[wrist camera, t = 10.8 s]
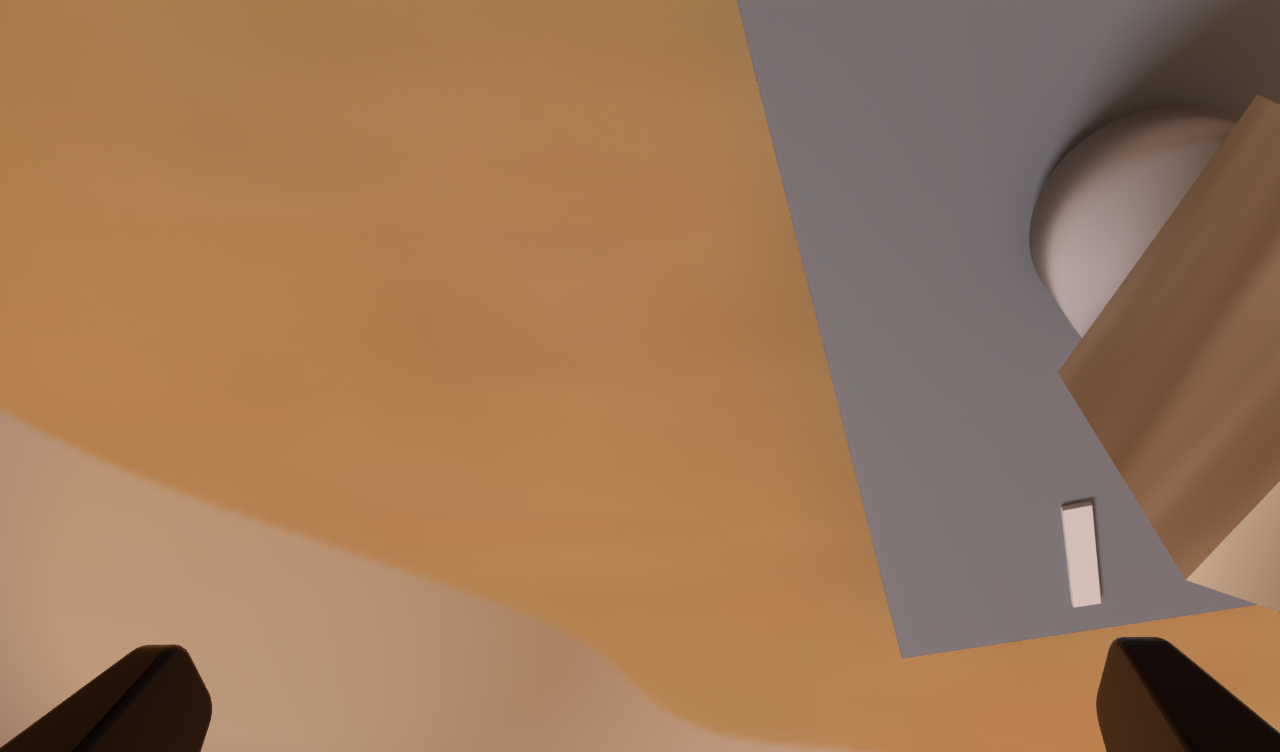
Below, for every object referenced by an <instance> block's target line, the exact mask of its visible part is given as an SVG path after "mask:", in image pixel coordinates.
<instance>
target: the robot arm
mask: <svg viewBox="0 0 1280 752" xmlns="http://www.w3.org/2000/svg"><path fill="white" fill-rule="evenodd" d="M1096 708H1097V717H1098V722H1099V726H1100V730H1101V733H1102V737H1103V740H1104V744H1105V748H1106V751H1107V752H1280V733H1279V732H1278V731H1277V730H1276V729H1274V728H1273V727H1272V726H1271V725H1269V724H1268V723H1267V722H1266V721H1265V720H1263V719H1262V718H1261V717H1260V716H1259V715H1257V714H1256V713H1255V712H1254V711H1253V710H1251V709H1250V708H1249V707H1248V706H1246V705H1245V704H1244V703H1243V702H1242V701H1240V700H1239V699H1238V698H1237V697H1236V696H1234V695H1233V694H1232V693H1231V692H1230V691H1228V690H1227V689H1226V688H1225V687H1224V686H1222V685H1221V684H1220V683H1219V682H1217V681H1216V680H1215V679H1214V678H1213V677H1211V676H1210V675H1209V674H1208V673H1207V672H1205V671H1204V670H1203V669H1202V668H1201V667H1199V666H1198V665H1197V664H1196V663H1194V662H1193V661H1192V660H1191V659H1190V658H1188V657H1187V656H1186V655H1185V654H1184V653H1182V652H1181V651H1180V650H1179V649H1178V648H1176V647H1175V646H1174V645H1173V644H1171V643H1170V642H1168V641H1166V640H1164V639H1162V638H1158V637H1121V638H1117V639H1116V640H1114V641H1113V642H1112V644H1111V646H1110V648H1109V651H1108V655H1107V659H1106V663H1105V666H1104V670H1103V674H1102V678H1101V682H1100V685H1099V689H1098V693H1097V700H1096ZM211 714H212V702H211V697H210V694H209V692H208V690H207V688H206V686H205V684H204V682H203V680H202V678H201V676H200V674H199V672H198V670H197V669H196V666H195V665H194V663H193V661H192V659H191V657H190V655H189V653H188V652H187V650H186V649H184V648H183V647H181V646H179V645H145V646H141V647H139V648H136V649H135V650H133V651H132V652H130V653H129V654H127V655H126V656H125V657H123V658H122V659H121V660H119V661H118V662H116V663H115V664H114V665H112V666H111V667H110V668H108V669H107V670H106V671H104V672H103V673H101V674H100V675H99V676H97V677H96V678H95V679H93V680H92V681H91V682H89V683H88V684H87V685H85V686H84V687H82V688H81V689H80V690H78V691H77V692H76V693H74V694H73V695H72V696H70V697H69V698H67V699H66V700H65V701H63V702H62V703H61V704H59V705H58V706H57V707H55V708H54V709H53V710H51V711H50V712H48V713H47V714H46V715H44V716H43V717H42V718H40V719H39V720H38V721H36V722H35V723H33V724H32V725H31V726H29V727H28V728H27V729H25V730H24V731H23V732H21V733H20V734H19V735H17V736H16V737H15V738H13V739H12V740H10V741H9V742H8V743H6V744H5V745H4V746H2V747H1V748H0V752H201V748H202V746H203V742H204V739H205V736H206V733H207V730H208V727H209V724H210V720H211Z"/></svg>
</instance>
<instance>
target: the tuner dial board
mask: <svg viewBox="0 0 1280 752" xmlns="http://www.w3.org/2000/svg"><path fill="white" fill-rule="evenodd" d="M737 2H738V6H739V10H740V14H741V18H742V22H743V26H744V30H745V34H746V38H747V42H748V46H749V50H750V54H751V58H752V62H753V66H754V70H755V74H756V78H757V82H758V86H759V90H760V94H761V98H762V102H763V106H764V110H765V114H766V118H767V122H768V126H769V130H770V134H771V138H772V142H773V146H774V150H775V154H776V158H777V162H778V166H779V170H780V174H781V178H782V182H783V186H784V190H785V194H786V198H787V202H788V206H789V210H790V214H791V218H792V222H793V226H794V230H795V234H796V238H797V242H798V246H799V250H800V254H801V258H802V262H803V266H804V270H805V274H806V278H807V282H808V286H809V290H810V294H811V298H812V302H813V306H814V310H815V314H816V318H817V322H818V326H819V330H820V334H821V338H822V342H823V346H824V350H825V354H826V358H827V362H828V366H829V370H830V374H831V378H832V382H833V386H834V390H835V394H836V398H837V402H838V405H839V409H840V413H841V417H842V421H843V425H844V429H845V433H846V437H847V441H848V445H849V449H850V453H851V457H852V461H853V465H854V469H855V473H856V477H857V481H858V485H859V489H860V493H861V497H862V501H863V505H864V509H865V513H866V517H867V521H868V525H869V529H870V533H871V537H872V541H873V545H874V549H875V553H876V557H877V561H878V565H879V569H880V573H881V577H882V581H883V585H884V589H885V593H886V597H887V601H888V605H889V609H890V613H891V617H892V621H893V625H894V629H895V633H896V637H897V641H898V645H899V649H900V653H901V657H902V658H909V657H916V656H922V655H929V654H935V653H942V652H949V651H955V650H962V649H968V648H975V647H982V646H988V645H995V644H1002V643H1008V642H1015V641H1021V640H1028V639H1035V638H1041V637H1048V636H1054V635H1061V634H1068V633H1074V632H1081V631H1087V630H1094V629H1101V628H1107V627H1114V626H1121V625H1127V624H1134V623H1140V622H1147V621H1154V620H1160V619H1167V618H1173V617H1180V616H1187V615H1193V614H1200V613H1207V612H1213V611H1220V610H1226V609H1233V608H1240V607H1246V606H1253V605H1257V604H1254V603H1252V602H1249V601H1246V600H1243V599H1240V598H1237V597H1234V596H1231V595H1228V594H1225V593H1222V592H1219V591H1216V590H1214V589H1211V588H1208V587H1205V586H1202V585H1199V584H1196V583H1193V582H1190V581H1187V580H1185V578H1184V576H1183V575H1182V573H1181V571H1180V570H1179V568H1178V567H1177V565H1176V563H1175V562H1174V560H1173V559H1172V557H1171V555H1170V554H1169V552H1168V550H1167V549H1166V547H1165V546H1164V544H1163V542H1162V541H1161V539H1160V537H1159V536H1158V534H1157V533H1156V531H1155V529H1154V528H1153V526H1152V524H1151V523H1150V521H1149V520H1148V518H1147V516H1146V515H1145V513H1144V512H1143V510H1142V508H1141V507H1140V505H1139V503H1138V502H1137V500H1136V499H1135V497H1134V495H1133V494H1132V492H1131V490H1130V489H1129V487H1128V486H1127V484H1126V482H1125V481H1124V479H1123V477H1122V476H1121V474H1120V473H1119V471H1118V469H1117V468H1116V466H1115V464H1114V463H1113V461H1112V460H1111V458H1110V456H1109V455H1108V453H1107V452H1106V450H1105V448H1104V447H1103V445H1102V443H1101V442H1100V440H1099V439H1098V437H1097V435H1096V434H1095V432H1094V430H1093V429H1092V427H1091V426H1090V424H1089V422H1088V421H1087V419H1086V417H1085V416H1084V414H1083V413H1082V411H1081V409H1080V408H1079V406H1078V405H1077V403H1076V401H1075V400H1074V398H1073V396H1072V395H1071V393H1070V392H1069V390H1068V388H1067V387H1066V385H1065V383H1064V382H1063V380H1062V379H1061V377H1060V375H1059V374H1058V371H1059V370H1060V369H1061V367H1062V366H1063V364H1064V363H1065V362H1066V360H1067V359H1068V358H1069V356H1070V355H1071V353H1072V352H1073V351H1074V349H1075V348H1076V346H1077V345H1078V344H1079V342H1080V341H1081V339H1082V337H1081V336H1080V335H1079V334H1078V332H1077V331H1076V330H1075V328H1074V327H1073V325H1072V324H1071V322H1070V321H1069V320H1068V318H1067V317H1066V315H1065V314H1064V313H1063V311H1062V310H1061V308H1060V307H1059V305H1058V304H1057V303H1056V301H1055V300H1054V298H1053V297H1052V296H1051V294H1050V293H1049V291H1048V290H1047V288H1046V287H1045V286H1044V284H1043V283H1042V281H1041V279H1040V278H1039V276H1038V274H1037V272H1036V270H1035V267H1034V264H1033V262H1032V258H1031V253H1030V246H1029V231H1030V222H1031V217H1032V214H1033V210H1034V206H1035V204H1036V201H1037V199H1038V196H1039V194H1040V192H1041V190H1042V188H1043V186H1044V184H1045V183H1046V181H1047V179H1048V178H1049V176H1050V175H1051V173H1052V172H1053V171H1054V169H1055V168H1056V166H1057V165H1058V164H1059V163H1060V162H1061V161H1062V160H1063V158H1064V157H1065V156H1066V155H1067V154H1068V153H1069V152H1070V151H1071V150H1072V149H1073V148H1075V147H1076V146H1077V145H1078V144H1079V143H1080V142H1081V141H1083V140H1084V139H1085V138H1087V137H1088V136H1089V135H1091V134H1092V133H1094V132H1095V131H1097V130H1098V129H1100V128H1102V127H1103V126H1105V125H1107V124H1109V123H1110V122H1113V121H1115V120H1117V119H1119V118H1121V117H1124V116H1126V115H1129V114H1132V113H1135V112H1138V111H1141V110H1144V109H1149V108H1154V107H1159V106H1168V105H1194V106H1200V107H1206V108H1210V109H1213V110H1216V111H1220V112H1223V113H1225V114H1227V115H1229V116H1231V117H1233V118H1235V119H1236V120H1238V121H1239V119H1240V118H1241V117H1242V115H1243V114H1244V113H1245V111H1246V110H1247V108H1248V107H1249V106H1250V104H1251V103H1252V101H1253V100H1254V99H1255V97H1256V96H1257V94H1258V95H1260V96H1262V97H1265V98H1267V99H1270V100H1272V101H1275V102H1277V103H1279V104H1280V0H737Z"/></svg>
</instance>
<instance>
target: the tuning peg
mask: <svg viewBox="0 0 1280 752" xmlns="http://www.w3.org/2000/svg"><path fill="white" fill-rule="evenodd" d="M1029 246H1030V253H1031V258H1032V262H1033V264H1034V267H1035V270H1036V272H1037V274H1038V276H1039V278H1040V279H1041V281H1042V283H1043V284H1044V286H1045V287H1046V288H1047V290H1048V291H1049V293H1050V294H1051V296H1052V297H1053V298H1054V300H1055V301H1056V303H1057V304H1058V305H1059V307H1060V308H1061V310H1062V311H1063V313H1064V314H1065V315H1066V317H1067V318H1068V320H1069V321H1070V322H1071V324H1072V325H1073V327H1074V328H1075V330H1076V331H1077V332H1078V334H1079V335H1080V336H1081V337H1082V339H1081V341H1080V342H1079V344H1078V345H1077V346H1076V348H1075V349H1074V351H1073V352H1072V353H1071V355H1070V356H1069V358H1068V359H1067V360H1066V362H1065V363H1064V364H1063V366H1062V367H1061V369H1060V370H1059V371H1058V374H1059V375H1060V377H1061V379H1062V380H1063V382H1064V383H1065V385H1066V387H1067V388H1068V390H1069V392H1070V393H1071V395H1072V396H1073V398H1074V400H1075V401H1076V403H1077V405H1078V406H1079V408H1080V409H1081V411H1082V413H1083V414H1084V416H1085V417H1086V419H1087V421H1088V422H1089V424H1090V426H1091V427H1092V429H1093V430H1094V432H1095V434H1096V435H1097V437H1098V439H1099V440H1100V442H1101V443H1102V445H1103V447H1104V448H1105V450H1106V452H1107V453H1108V455H1109V456H1110V458H1111V460H1112V461H1113V463H1114V464H1115V466H1116V468H1117V469H1118V471H1119V473H1120V474H1121V476H1122V477H1123V479H1124V481H1125V482H1126V484H1127V486H1128V487H1129V489H1130V490H1131V492H1132V494H1133V495H1134V497H1135V499H1136V500H1137V502H1138V503H1139V505H1140V507H1141V508H1142V510H1143V512H1144V513H1145V515H1146V516H1147V518H1148V520H1149V521H1150V523H1151V524H1152V526H1153V528H1154V529H1155V531H1156V533H1157V534H1158V536H1159V537H1160V539H1161V541H1162V542H1163V544H1164V546H1165V547H1166V549H1167V550H1168V552H1169V554H1170V555H1171V557H1172V559H1173V560H1174V562H1175V563H1176V565H1177V567H1178V568H1179V570H1180V571H1181V573H1182V575H1183V576H1184V578H1185V580H1187V581H1190V582H1193V583H1196V584H1199V585H1202V586H1205V587H1208V588H1211V589H1214V590H1216V591H1219V592H1222V593H1225V594H1228V595H1231V596H1234V597H1237V598H1240V599H1243V600H1246V601H1249V602H1252V603H1254V604H1257V605H1260V606H1263V607H1266V608H1269V609H1272V610H1275V611H1278V612H1280V104H1279V103H1277V102H1275V101H1272V100H1270V99H1267V98H1265V97H1262V96H1260V95H1258V94H1257V96H1256V97H1255V99H1254V100H1253V101H1252V103H1251V104H1250V106H1249V107H1248V108H1247V110H1246V111H1245V113H1244V114H1243V115H1242V117H1241V118H1240V119H1239V121H1238V120H1236V119H1235V118H1233V117H1231V116H1229V115H1227V114H1225V113H1223V112H1220V111H1216V110H1213V109H1210V108H1206V107H1200V106H1194V105H1168V106H1159V107H1154V108H1149V109H1144V110H1141V111H1138V112H1135V113H1132V114H1129V115H1126V116H1124V117H1121V118H1119V119H1117V120H1115V121H1113V122H1110V123H1109V124H1107V125H1105V126H1103V127H1102V128H1100V129H1098V130H1097V131H1095V132H1094V133H1092V134H1091V135H1089V136H1088V137H1087V138H1085V139H1084V140H1083V141H1081V142H1080V143H1079V144H1078V145H1077V146H1076V147H1075V148H1073V149H1072V150H1071V151H1070V152H1069V153H1068V154H1067V155H1066V156H1065V157H1064V158H1063V160H1062V161H1061V162H1060V163H1059V164H1058V165H1057V166H1056V168H1055V169H1054V171H1053V172H1052V173H1051V175H1050V176H1049V178H1048V179H1047V181H1046V183H1045V184H1044V186H1043V188H1042V190H1041V192H1040V194H1039V196H1038V199H1037V201H1036V204H1035V206H1034V210H1033V214H1032V217H1031V222H1030V231H1029Z"/></svg>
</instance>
